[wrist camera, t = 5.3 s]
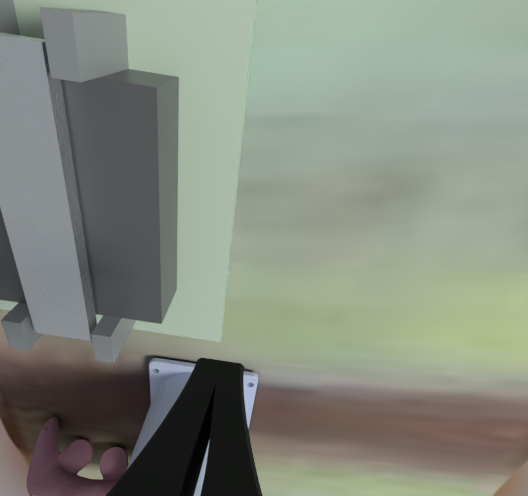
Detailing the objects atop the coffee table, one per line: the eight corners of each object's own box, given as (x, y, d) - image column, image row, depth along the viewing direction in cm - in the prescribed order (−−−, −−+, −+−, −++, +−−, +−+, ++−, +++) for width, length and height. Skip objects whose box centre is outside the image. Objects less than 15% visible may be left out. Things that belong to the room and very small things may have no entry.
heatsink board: (222, 335, 25) (207, 399, 21) (-11, 300, 25) (-74, 358, 20) (259, -24, 14) (245, -44, 10) (-150, -92, 14) (-343, -141, 10)
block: (98, 330, 20) (91, 340, 19) (43, 322, 20) (35, 332, 19) (55, 41, 13) (41, 41, 12) (-32, 27, 12) (-50, 27, 12)
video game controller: (58, 418, 35) (20, 506, 31) (42, 413, 31) (-4, 514, 27) (160, 439, 35) (134, 528, 32) (157, 437, 31) (127, 538, 28)
